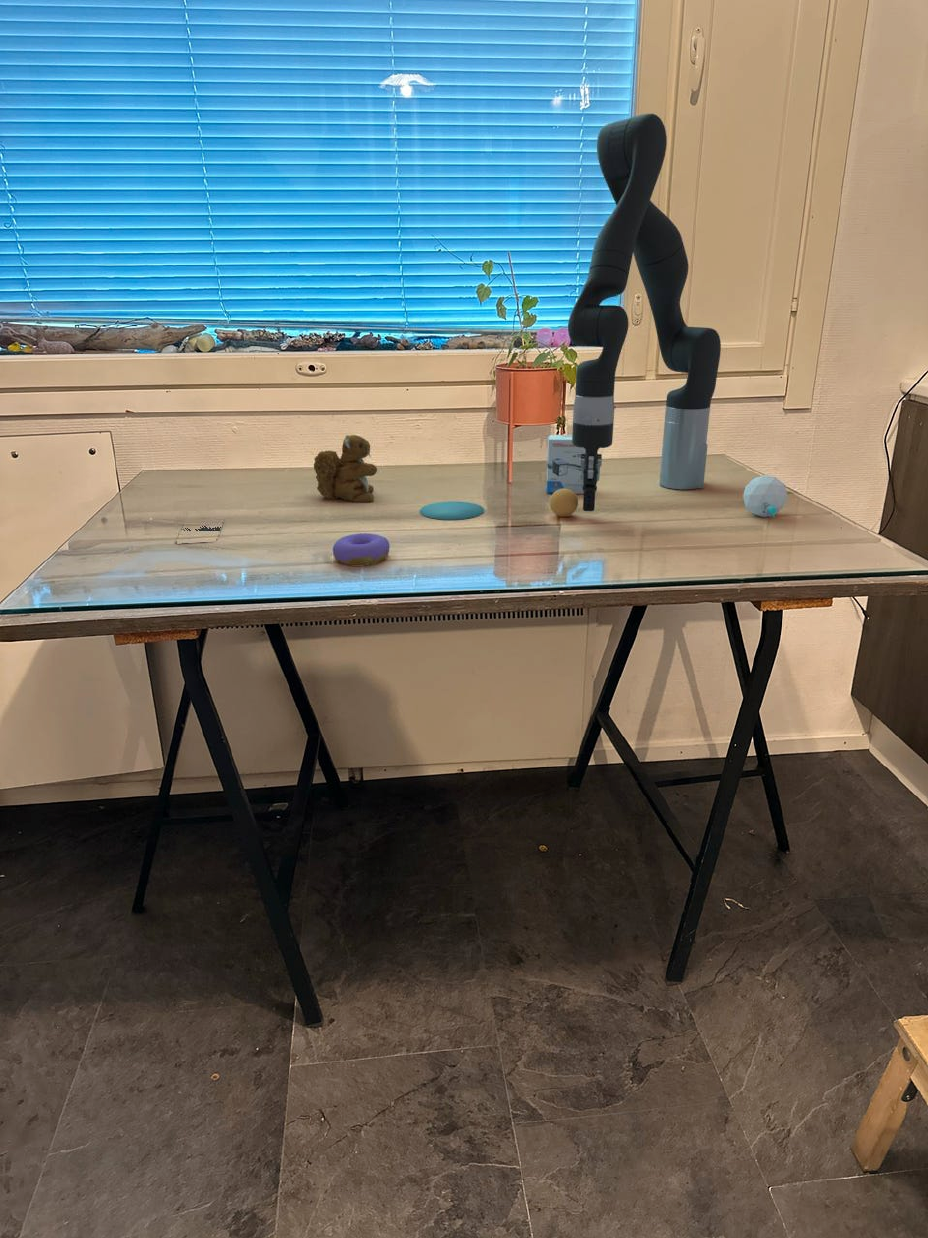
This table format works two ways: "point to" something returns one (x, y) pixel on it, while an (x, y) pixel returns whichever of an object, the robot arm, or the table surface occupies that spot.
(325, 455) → the stuffed squirrel
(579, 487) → the ink box
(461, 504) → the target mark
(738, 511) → the table surface
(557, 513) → the ball
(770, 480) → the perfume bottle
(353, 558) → the donut
